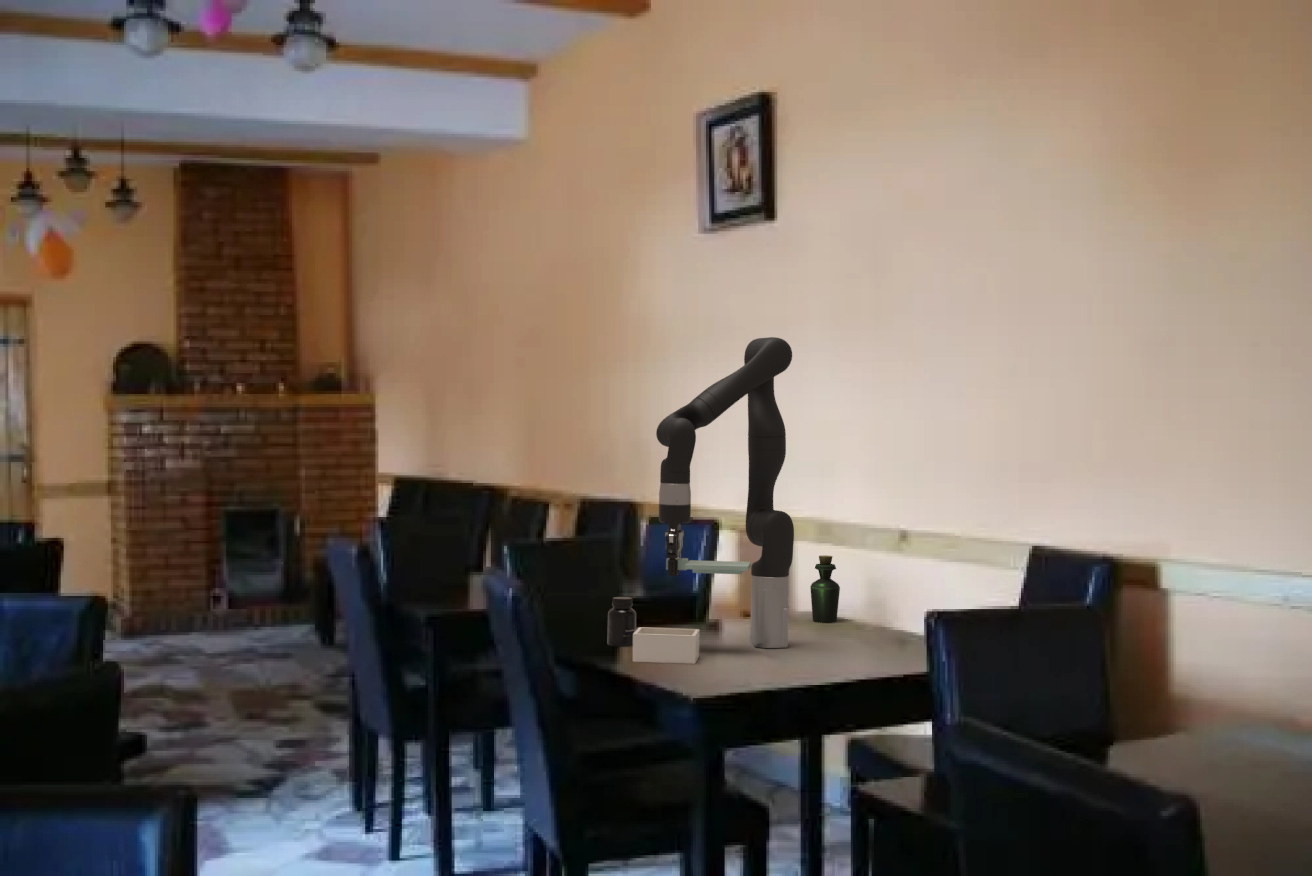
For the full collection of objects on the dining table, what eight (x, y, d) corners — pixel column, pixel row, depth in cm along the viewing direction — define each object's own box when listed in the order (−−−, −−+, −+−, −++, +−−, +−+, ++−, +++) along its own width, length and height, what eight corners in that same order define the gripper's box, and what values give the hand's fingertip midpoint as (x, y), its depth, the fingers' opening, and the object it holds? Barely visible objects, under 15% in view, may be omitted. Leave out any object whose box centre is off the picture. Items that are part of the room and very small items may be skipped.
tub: (699, 659, 318) (699, 629, 318) (694, 667, 308) (695, 635, 308) (638, 657, 320) (639, 627, 320) (632, 664, 310) (632, 633, 310)
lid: (750, 570, 329) (750, 558, 329) (747, 575, 319) (748, 563, 319) (669, 568, 332) (669, 556, 332) (664, 572, 321) (664, 560, 321)
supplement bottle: (632, 650, 329) (632, 600, 329) (604, 649, 331) (605, 599, 330) (638, 645, 336) (639, 596, 336) (611, 644, 337) (611, 595, 337)
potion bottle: (826, 618, 387) (827, 554, 387) (845, 622, 380) (846, 556, 380) (803, 620, 382) (804, 555, 382) (822, 624, 376) (823, 558, 375)
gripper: (687, 504, 319) (686, 579, 319) (693, 501, 333) (692, 572, 333) (655, 503, 320) (654, 578, 320) (662, 500, 334) (661, 571, 334)
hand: (673, 574), depth 326 cm, fingers closed on lid, 4 cm apart
